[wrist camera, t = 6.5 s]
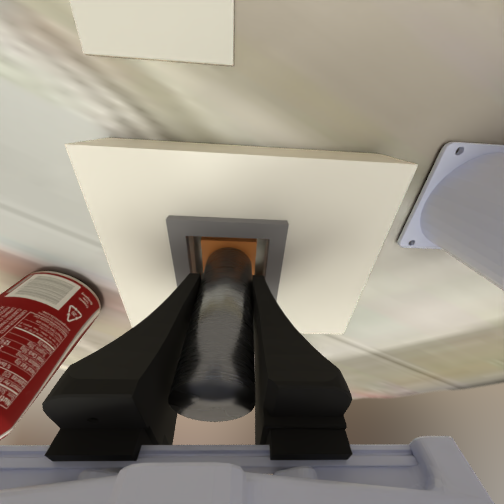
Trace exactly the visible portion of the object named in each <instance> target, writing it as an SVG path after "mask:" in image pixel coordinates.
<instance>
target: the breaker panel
mask: <svg viewBox="0 0 504 504" xmlns="http://www.w3.org/2000/svg"><path fill="white" fill-rule="evenodd" d="M65 147H66V150H67V152H68V155H69V158H70V161H71V163H72V166H73V169H74V171H75V174H76V177H77V180H78V182H79V185H80V188H81V190H82V193H83V196H84V198H85V201H86V204H87V207H88V209H89V212H90V215H91V217H92V220H93V223H94V226H95V228H96V231H97V234H98V236H99V239H100V242H101V245H102V247H103V250H104V253H105V255H106V258H107V261H108V264H109V266H110V269H111V272H112V274H113V277H114V280H115V283H116V285H117V288H118V291H119V293H120V296H121V299H122V302H123V304H124V307H125V310H126V312H127V315H128V318H129V321H130V323H131V326H132V328H133V327H135V326H136V325H137V324H139V323H140V322H141V321H142V320H144V319H145V318H146V317H147V316H149V315H150V314H151V313H152V312H153V311H154V310H155V309H156V308H158V307H159V306H160V305H161V304H162V303H163V302H164V301H165V300H166V299H167V298H168V297H169V296H170V295H171V294H172V292H173V291H174V290H175V289H176V288H177V287H178V286H179V285H180V284H181V282H182V281H183V280H184V279H185V278H186V277H187V275H188V274H189V273H201V280H202V277H203V262H202V250H201V238H202V237H227V238H253V239H257V247H256V260H255V273H254V275H263V276H264V277H265V280H266V282H267V285H268V287H269V289H270V291H271V293H272V295H273V296H274V298H275V300H276V302H277V303H278V305H279V306H280V308H281V309H282V311H283V312H284V314H285V315H286V317H287V318H288V319H289V321H290V322H291V323H292V324H293V326H294V327H295V328H296V329H297V330H298V331H299V333H305V334H344V332H345V330H346V327H347V325H348V323H349V320H350V318H351V316H352V314H353V311H354V309H355V307H356V305H357V302H358V300H359V298H360V296H361V293H362V291H363V289H364V287H365V284H366V282H367V280H368V277H369V275H370V273H371V271H372V268H373V266H374V264H375V262H376V259H377V257H378V255H379V253H380V250H381V248H382V246H383V244H384V241H385V239H386V237H387V235H388V232H389V230H390V228H391V225H392V223H393V221H394V219H395V216H396V214H397V212H398V210H399V207H400V205H401V203H402V201H403V198H404V196H405V194H406V192H407V189H408V187H409V185H410V182H411V180H412V178H413V176H414V173H415V171H416V169H417V167H418V164H414V163H411V162H407V161H404V160H400V159H396V158H393V157H389V156H386V155H382V154H377V153H360V152H343V151H327V150H310V149H293V148H276V147H260V146H243V145H226V144H209V143H193V142H176V141H159V140H142V139H126V138H102V139H96V140H89V141H82V142H76V143H69V144H65Z"/></svg>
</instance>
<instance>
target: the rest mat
mask: <svg viewBox="0 0 504 504" xmlns="http://www.w3.org/2000/svg"><path fill="white" fill-rule="evenodd" d="M69 2H70V5H71V9H72V13H73V17H74V20H75V24H76V28H77V31H78V35H79V39H80V42H81V46H82V50H83V53H84V54H86V55H93V56H106V57H119V58H132V59H145V60H158V61H171V62H184V63H197V64H210V65H223V66H234V0H69Z"/></svg>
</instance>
